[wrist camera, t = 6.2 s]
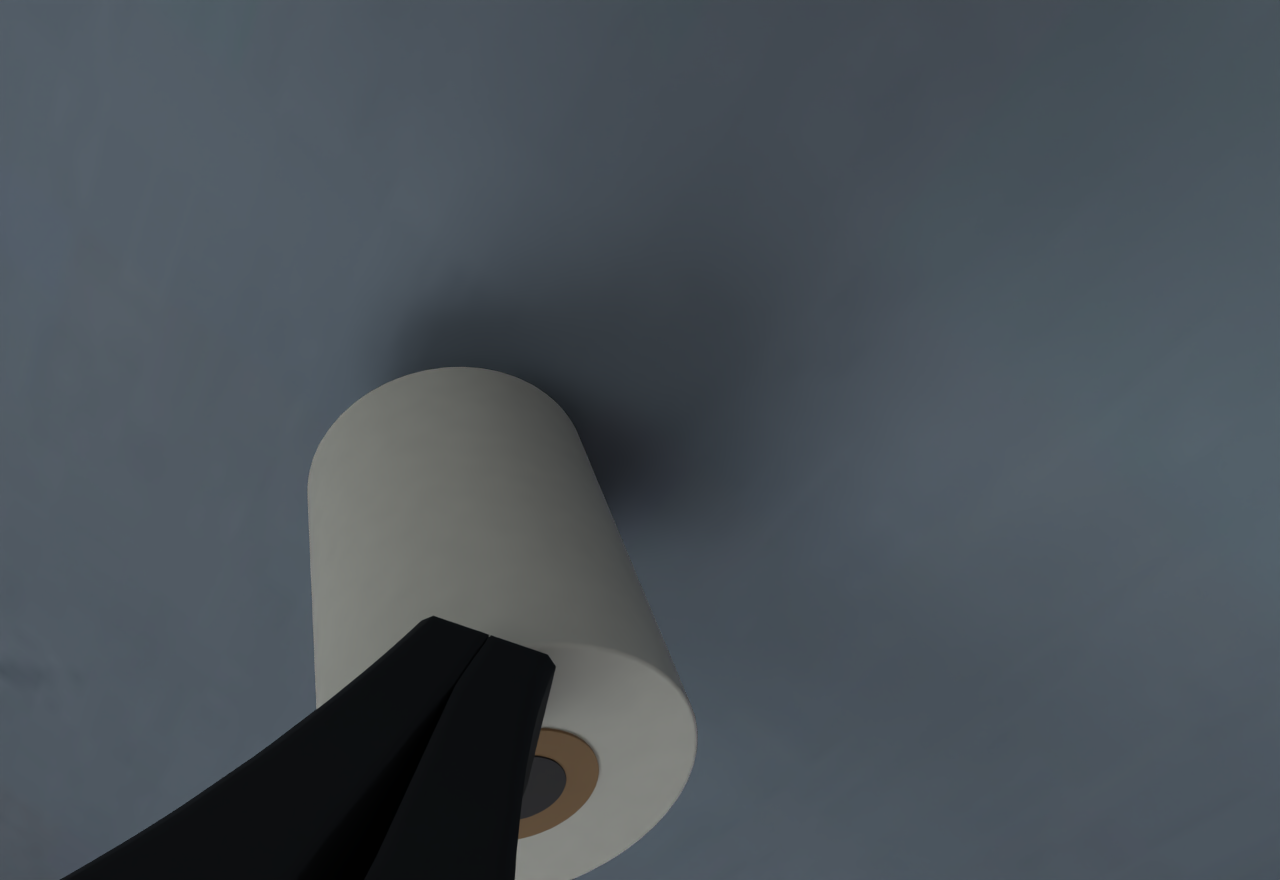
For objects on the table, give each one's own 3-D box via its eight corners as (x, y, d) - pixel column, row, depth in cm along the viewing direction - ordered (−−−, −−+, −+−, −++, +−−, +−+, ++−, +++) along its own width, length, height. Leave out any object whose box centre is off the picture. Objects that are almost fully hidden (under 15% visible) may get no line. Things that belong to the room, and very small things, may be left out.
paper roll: (555, 582, 11) (230, 821, 11) (764, 762, 13) (492, 948, 14) (468, 309, 15) (244, 488, 16) (634, 481, 18) (436, 629, 19)
